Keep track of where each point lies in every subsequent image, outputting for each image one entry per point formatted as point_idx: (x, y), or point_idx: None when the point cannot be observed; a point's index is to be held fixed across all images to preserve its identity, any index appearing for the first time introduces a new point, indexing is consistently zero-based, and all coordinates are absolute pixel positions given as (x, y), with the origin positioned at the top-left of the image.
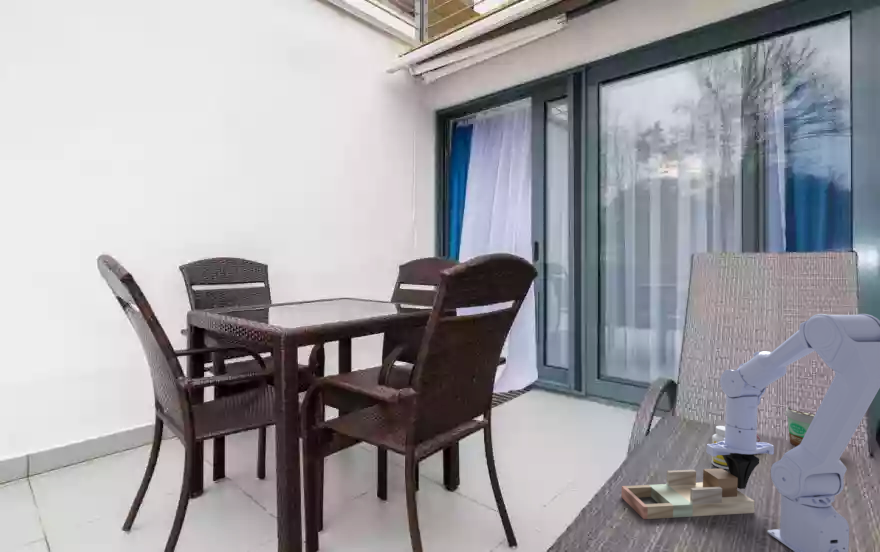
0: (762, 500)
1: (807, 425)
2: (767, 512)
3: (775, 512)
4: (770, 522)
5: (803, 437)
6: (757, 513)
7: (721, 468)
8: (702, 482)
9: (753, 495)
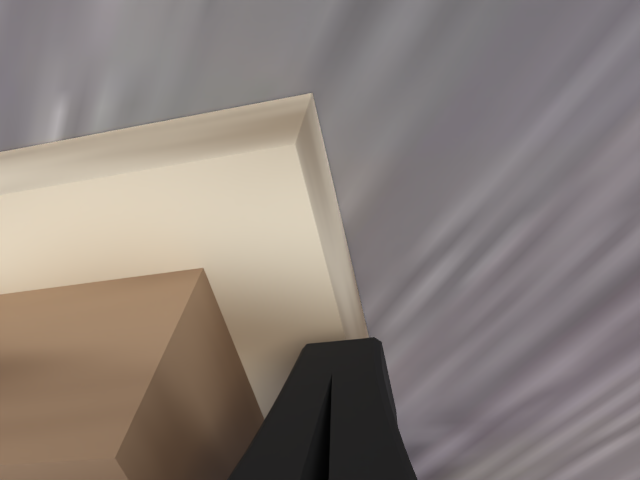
0: (636, 227)
1: None
2: (498, 388)
3: (567, 387)
4: (417, 473)
5: None
6: (405, 399)
7: (108, 458)
8: (5, 198)
9: (631, 134)
